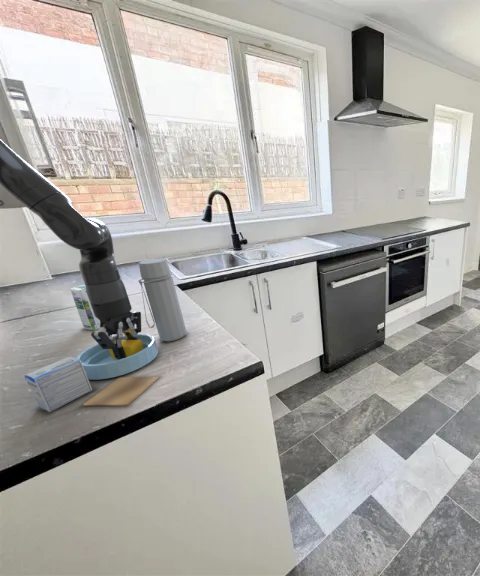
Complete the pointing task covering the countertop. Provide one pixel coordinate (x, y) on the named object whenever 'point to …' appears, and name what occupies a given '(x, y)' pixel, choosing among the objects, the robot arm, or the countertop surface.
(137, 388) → the mat
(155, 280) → the water bottle
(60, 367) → the medicine box
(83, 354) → the basin
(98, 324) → the syrup box
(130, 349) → the sponge
